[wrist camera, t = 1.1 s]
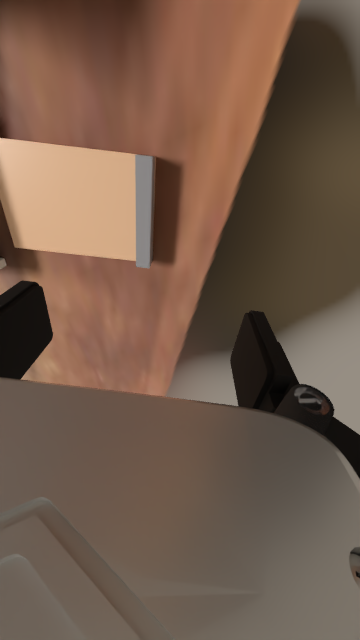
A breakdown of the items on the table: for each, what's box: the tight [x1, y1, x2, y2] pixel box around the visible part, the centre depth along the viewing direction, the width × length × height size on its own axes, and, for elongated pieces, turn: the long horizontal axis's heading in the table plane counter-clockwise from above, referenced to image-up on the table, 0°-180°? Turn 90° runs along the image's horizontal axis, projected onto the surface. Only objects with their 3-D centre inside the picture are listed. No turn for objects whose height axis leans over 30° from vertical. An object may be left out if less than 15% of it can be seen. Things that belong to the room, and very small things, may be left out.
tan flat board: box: [0, 138, 156, 268], centre depth 26 cm, size 11×17×3 cm, turn 84°
